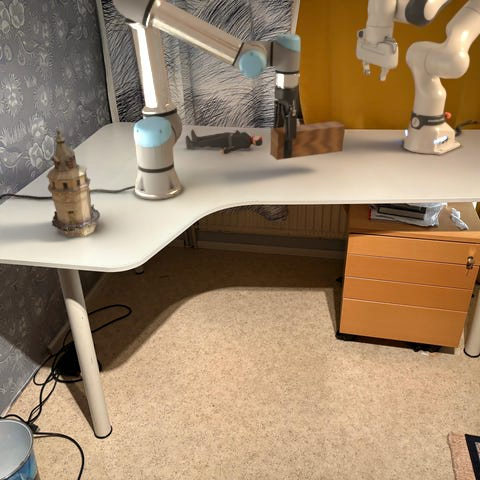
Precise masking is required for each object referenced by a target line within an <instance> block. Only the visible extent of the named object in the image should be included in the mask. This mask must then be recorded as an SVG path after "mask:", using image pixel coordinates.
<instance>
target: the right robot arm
mask: <svg viewBox="0 0 480 480" xmlns="http://www.w3.org/2000/svg"><path fill="white" fill-rule="evenodd" d="M452 1H453V0H368V1H367V2H368V4H367V20H366V24H365V27H364V28H363V29H360V30H358V31H357V33H356V37H357V40H356V48H355V55H356V58H357V59H358V60H359V61H362V68H363V75H366V76H369V75H371V69H370V64H372V65H375V66H378V67H380V68H381V69H380V70H381V73H380V74H379V75H378V80H379V81H382V82H385V81H386V80H387V75H388V73H389V71H390V70H394V69H396V68H397V66H398V64H399V46H398V43H397V41H396V39H395V37H394V36H393V35H394V27H395V23H394V22H397V23H400V24H408V25H412V26H416V27H418V28H423V27H426V26H428V25H430V24H431V23H432V22H433V21H434V19H436V17H437V15H438V14H439V13H440V12H441V11H442V10H443V9H445V7H447V6H448V5H449V4H450V3H451V2H452ZM445 34H446V35H445V36H446V39H445V40H444V41H443V42H441V43H438V42H435V41H428V40H424V41H416V42H414V43H412V44H411V45H410V46H409V47H408V49H407V51H406V52H405V53H406V54H405V63H406V65H407V66H408V68H409V70H410V71H411V74H412V77H413V83H414V100H413V107H412V108H413V109H412V110H411V112H410V118H409V120H410V122H409V124H408V128H407V129H405V138H404V139H403V145H402V146H403V148H404V149H406V150H408V151H410V152H413V153H417V154H428V155H429V154H431V155H439V156H441V155H443V154H446V153H448V152H450V151H453V150H455V149H457V148H459V147H460V146H461V144H460V143H459V142H458V141H457V140H455V138H456V137H458V136H460V135H461V134H462V133H463V131H462V129H461V127H462V126H465V125H467V124H469V123H473V122H472V119H469V120H466V121H464V122H461V123H459V125H457V128H456V129H457V131H458V132H456V131H455V130H454V129H453V127H451V126H450V124H448V123H447V122H446V119H450V118H451V117H452V114H451V113H450V112H444V110H445V104H446V99H447V91H446V88H445V87H444V86H443V85H442V83H441V79H447V80H448V79H450V80H452V79H459V78H461V77H462V76H464V74H465V73H466V72H467V71H468V68H469V67H470V55H469V49H470V48H471V45H472V44H473V42H474V41H475V40H476V39H477V37H479V35H480V0H468V1H467V2H466V3H465V4H464V5H463V6H462V7H461V8H460V9H459V10H458V11H457V13H455V14H454V16H453V17H452V18H451V19H450V21H448V22H447V24H446V27H445ZM440 78H441V79H440ZM474 123H475V124H479V122H478V120H477V121H475V122H474Z"/></svg>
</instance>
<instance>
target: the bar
mask: <svg viewBox="0 0 480 480" xmlns="http://www.w3.org/2000/svg"><path fill="white" fill-rule="evenodd" d="M345 130H346V125H344V124H343V123H341V122H339V121H338V120H334V121H325V122H317V123H308V124H299V125H298V124H297V132H296V139H294V140H293V141H292V158H291V159H295V158H304V157H310V156H317V155H325V154H333V153H340V152H343V151H344V142H345ZM285 138H286V137H285V126H284V127H280V128H273V127H272V128H270V146H269V149H270V150H269V155H270V156H272V157H273V159H275V160H276V161H280V160H288V159H289V158H286V159H284V158H283V155H284V139H285Z"/></svg>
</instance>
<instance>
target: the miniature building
mask: <svg viewBox="0 0 480 480" xmlns="http://www.w3.org/2000/svg"><path fill="white" fill-rule="evenodd" d="M56 134H57V136H56V138H55V140H54V141H55V142H56V147H55V154H54V156H52V157H51V161H52V162H53V165H54V167H53V168H51V169H50V170H49V171H48V173H47V174H46V178H47V179H48V182H49V184H48V186H47V190H48V191H49V193H50V194H51V196H52V199H51V200H52V201H53V205H54V209H55V211H53V217H52V220H51V223H52V225H51V227H54V228H56V229H58V230H59V231H60V234H63V235H64V234H65V235H66V236H69V237H77V236H80V237H83V236H87V235H88V234H90V233H93V232H94V231H95V229H96V226H97V225H98V223H99V220H100V216H101V213H100V212H99V210H98V209H96V208H95V204H92V201H91V200H92V199H91V198H92V197H91V193H92V192H91V191H90V190H91V188H90V184H91V178H89V177H88V174H87V167H85V166H84V165H83V166H82V165H80V164H77V160H76V154H75V151H74V150H70V149H69V147H68V145H67V143H66V138H65V137H64V136H63V135H61V130H60V129H56Z"/></svg>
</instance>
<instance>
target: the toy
mask: <svg viewBox="0 0 480 480" xmlns="http://www.w3.org/2000/svg"><path fill="white" fill-rule="evenodd" d="M233 131H234V132H229V131H225V132H220V133H219V132H218V133H214V134H208V135H201V136H198V135H197V134H196V132H195V130H194V129H191V130H190V136H189V135H188V134H187V135H186V136H185V147H186V149H187V150H191V149H194V148H198V149H199V148H200V149H204V148H211V149H215V148H216V149H217V148H220V149H221V150H219V151H220V152H219V153H220V155H221V156H224V155H228V154H230V153H232V152H235V151H239V150H241V151H247V150H248V151H249V149H250V148H251V147H252V145H253V146H255V147H260V146H262V145H263V142H264V141H263V137H262V136H261V135H253V136H251V135H250V134H249V133H248V132H247V131H242V132H241V131H239V129H234V130H233ZM190 137H191V138H190Z"/></svg>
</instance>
